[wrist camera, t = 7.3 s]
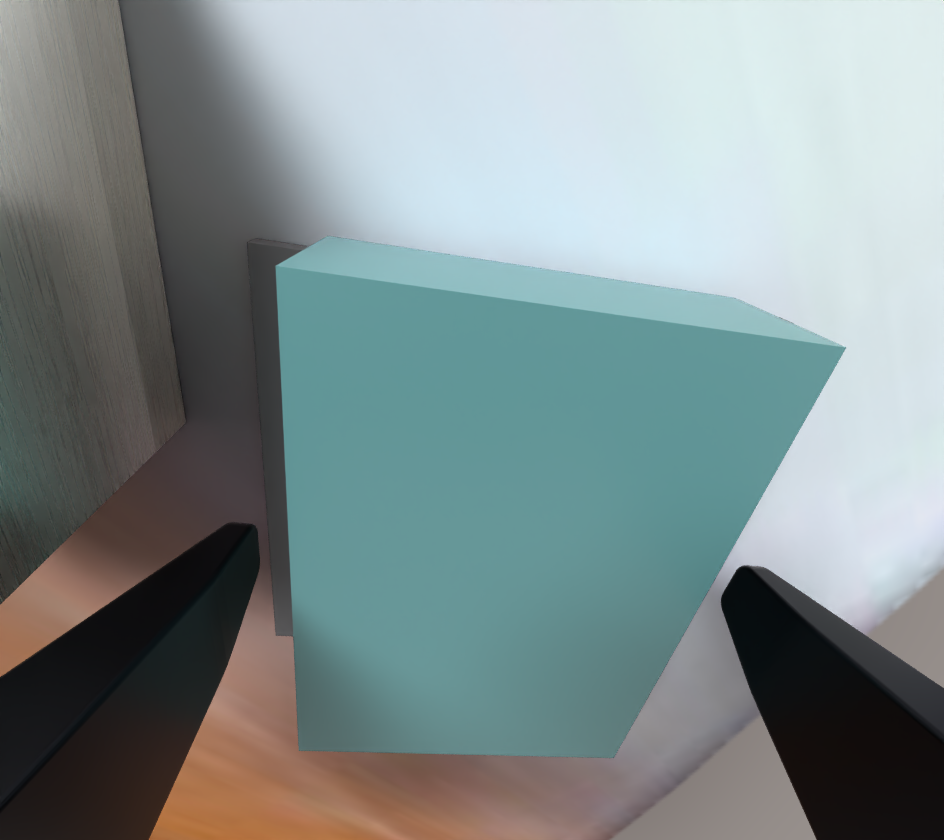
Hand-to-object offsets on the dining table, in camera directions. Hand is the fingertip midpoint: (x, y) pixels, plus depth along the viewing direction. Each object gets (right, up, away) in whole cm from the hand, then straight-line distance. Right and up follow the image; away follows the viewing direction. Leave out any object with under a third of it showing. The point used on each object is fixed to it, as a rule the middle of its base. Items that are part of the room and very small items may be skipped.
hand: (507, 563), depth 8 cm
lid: (0, 0, 0) cm, 1 cm away
